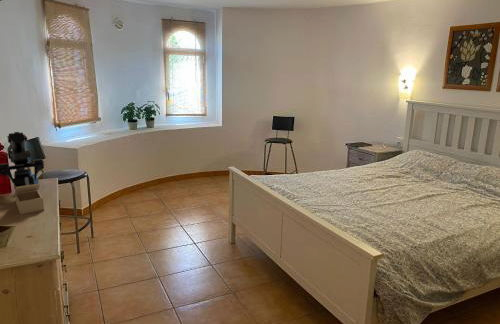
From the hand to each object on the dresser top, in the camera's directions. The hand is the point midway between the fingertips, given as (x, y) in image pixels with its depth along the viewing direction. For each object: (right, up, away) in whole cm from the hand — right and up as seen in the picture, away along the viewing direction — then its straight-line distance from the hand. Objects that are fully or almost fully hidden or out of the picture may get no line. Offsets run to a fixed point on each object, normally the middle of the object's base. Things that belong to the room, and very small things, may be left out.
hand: (24, 181), depth 181 cm
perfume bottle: (-15, -6, +31) cm, 35 cm away
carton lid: (+1, -4, +1) cm, 4 cm away
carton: (+1, -13, +3) cm, 14 cm away
